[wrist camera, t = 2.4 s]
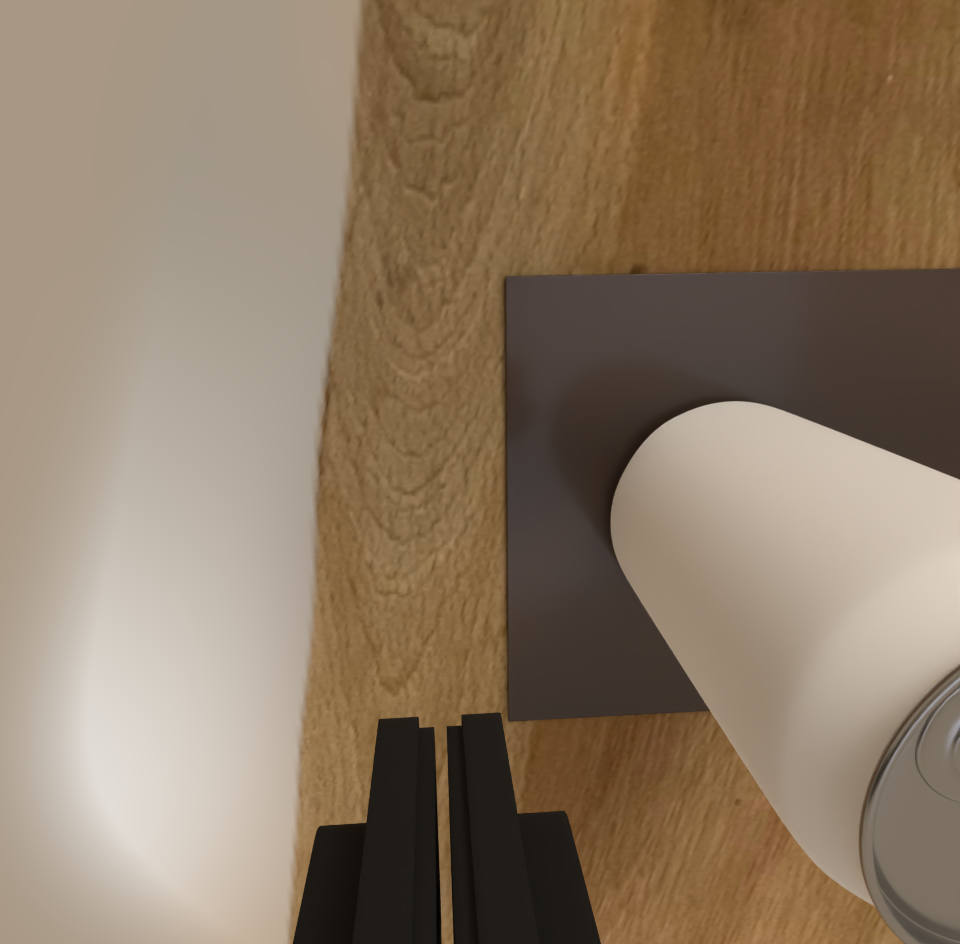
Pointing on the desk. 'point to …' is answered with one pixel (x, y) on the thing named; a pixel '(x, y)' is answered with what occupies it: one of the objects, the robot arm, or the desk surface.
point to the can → (816, 635)
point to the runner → (663, 396)
